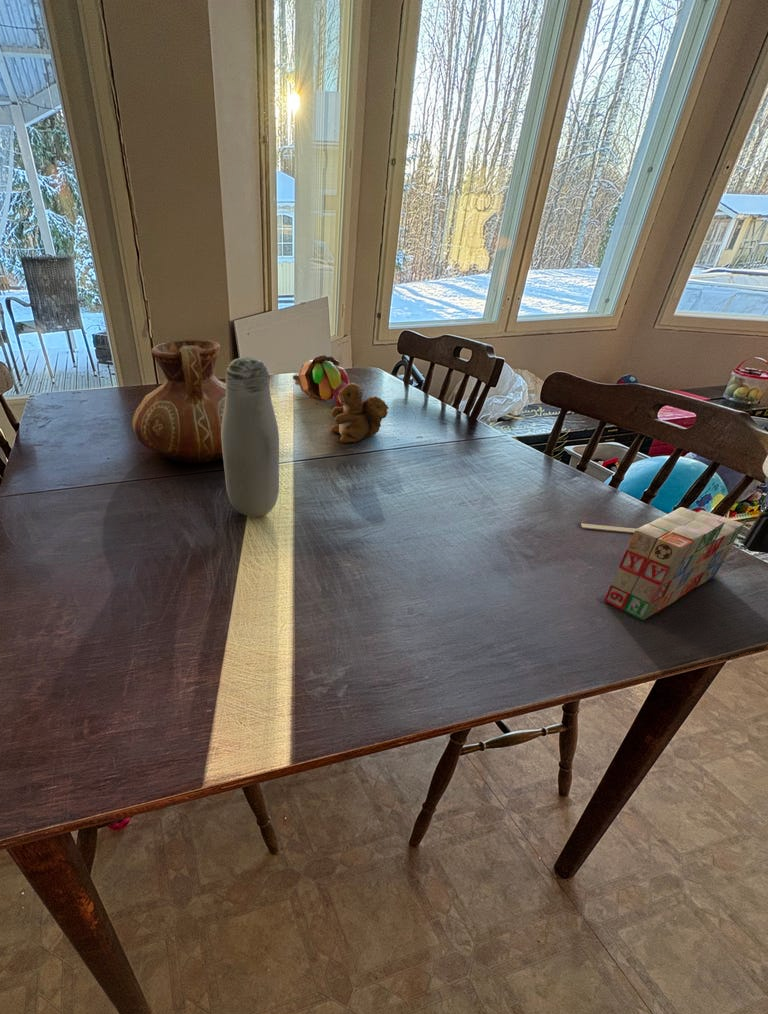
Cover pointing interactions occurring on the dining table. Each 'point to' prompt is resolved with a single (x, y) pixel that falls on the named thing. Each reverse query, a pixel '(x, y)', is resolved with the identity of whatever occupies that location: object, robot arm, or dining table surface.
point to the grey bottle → (250, 438)
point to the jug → (184, 404)
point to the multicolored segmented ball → (322, 378)
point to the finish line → (608, 528)
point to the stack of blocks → (670, 560)
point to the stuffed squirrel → (357, 414)
